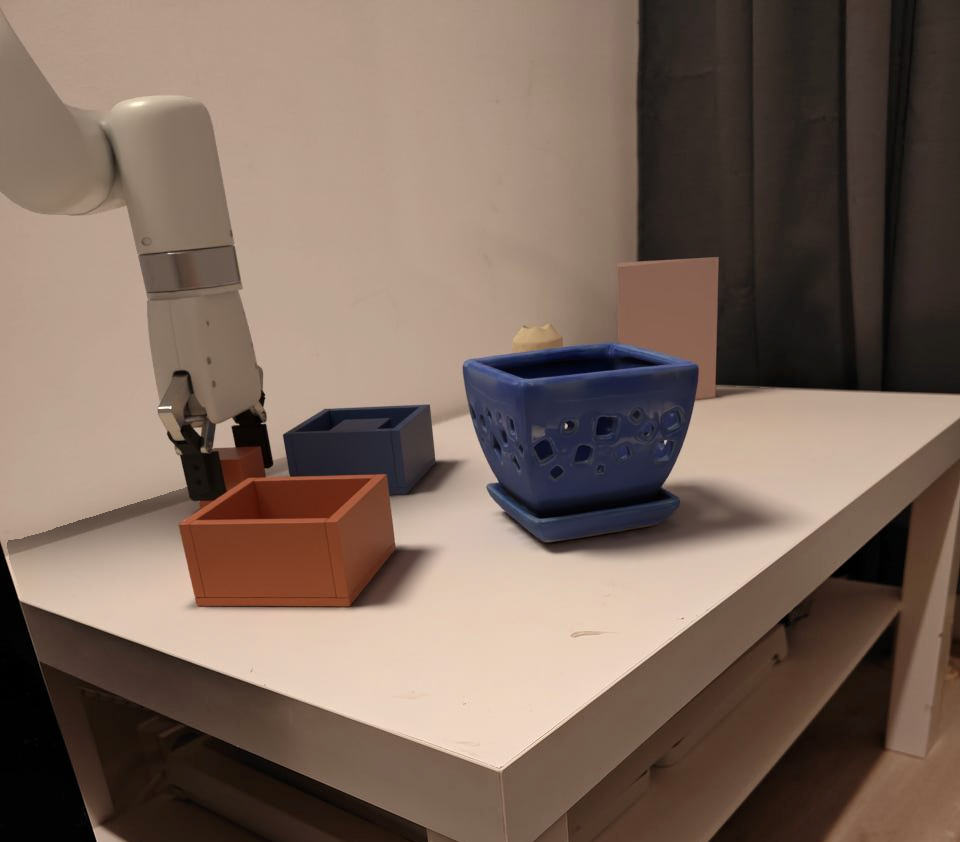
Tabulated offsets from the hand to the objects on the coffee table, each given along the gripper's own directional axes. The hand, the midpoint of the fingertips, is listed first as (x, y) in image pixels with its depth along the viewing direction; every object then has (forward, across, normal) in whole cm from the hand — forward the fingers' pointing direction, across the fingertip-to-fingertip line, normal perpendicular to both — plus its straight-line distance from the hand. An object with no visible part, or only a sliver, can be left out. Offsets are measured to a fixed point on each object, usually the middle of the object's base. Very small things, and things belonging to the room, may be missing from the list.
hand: (234, 483), depth 82 cm
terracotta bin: (+2, +18, +13) cm, 22 cm away
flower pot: (+2, +6, +31) cm, 31 cm away
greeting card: (+2, -37, +36) cm, 51 cm away
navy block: (+1, -7, +10) cm, 12 cm away
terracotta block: (+2, 0, 0) cm, 2 cm away
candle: (+2, -31, +23) cm, 38 cm away
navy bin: (+2, -7, +10) cm, 12 cm away
